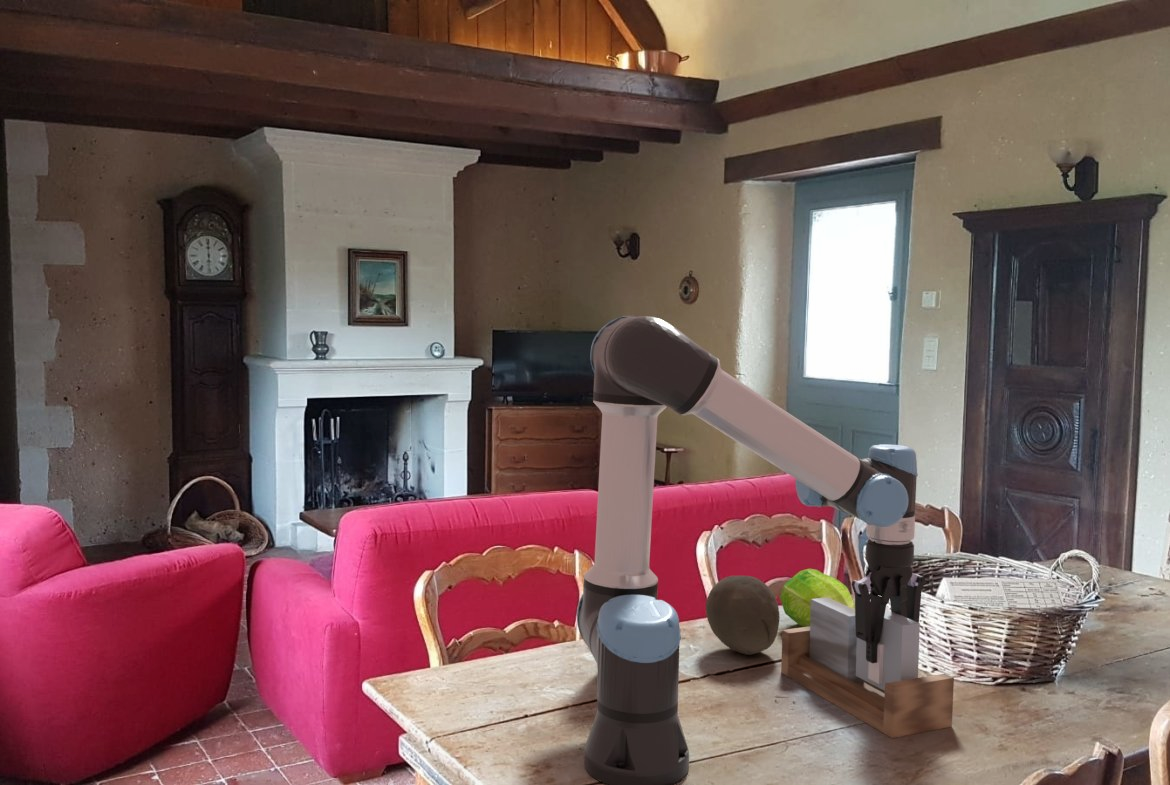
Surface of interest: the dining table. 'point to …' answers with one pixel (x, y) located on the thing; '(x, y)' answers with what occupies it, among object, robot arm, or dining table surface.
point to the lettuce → (811, 594)
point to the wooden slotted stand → (830, 671)
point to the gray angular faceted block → (893, 650)
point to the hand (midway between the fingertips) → (885, 678)
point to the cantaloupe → (743, 614)
